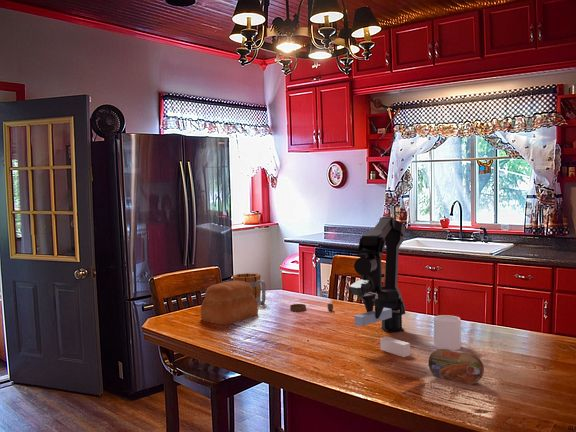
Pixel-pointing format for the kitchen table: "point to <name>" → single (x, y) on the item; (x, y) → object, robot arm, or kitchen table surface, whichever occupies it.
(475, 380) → the tin
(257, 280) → the mug
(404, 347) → the fulcrum
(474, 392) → the kitchen table surface
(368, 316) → the bar
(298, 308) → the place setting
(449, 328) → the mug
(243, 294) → the bread
